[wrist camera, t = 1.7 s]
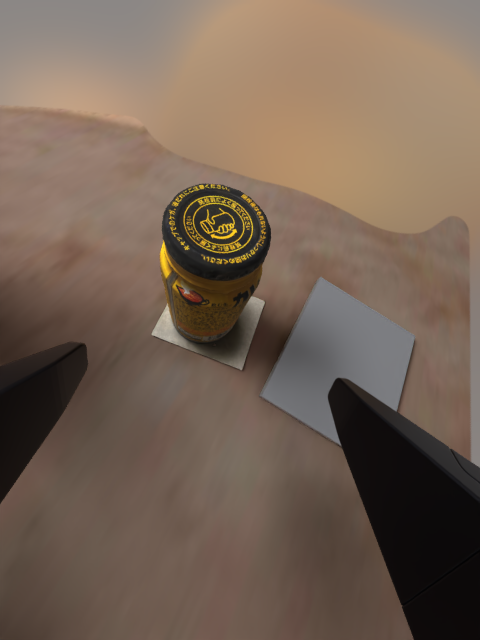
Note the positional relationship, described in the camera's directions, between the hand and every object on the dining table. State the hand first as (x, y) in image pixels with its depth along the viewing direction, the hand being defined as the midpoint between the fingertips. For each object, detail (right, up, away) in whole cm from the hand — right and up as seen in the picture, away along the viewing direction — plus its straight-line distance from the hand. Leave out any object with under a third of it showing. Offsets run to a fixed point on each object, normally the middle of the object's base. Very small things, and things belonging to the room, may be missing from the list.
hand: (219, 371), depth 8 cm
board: (+11, -2, +15) cm, 18 cm away
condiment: (-2, +2, +14) cm, 14 cm away
